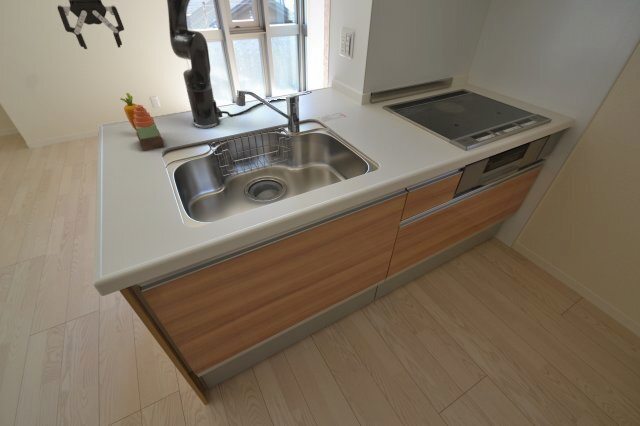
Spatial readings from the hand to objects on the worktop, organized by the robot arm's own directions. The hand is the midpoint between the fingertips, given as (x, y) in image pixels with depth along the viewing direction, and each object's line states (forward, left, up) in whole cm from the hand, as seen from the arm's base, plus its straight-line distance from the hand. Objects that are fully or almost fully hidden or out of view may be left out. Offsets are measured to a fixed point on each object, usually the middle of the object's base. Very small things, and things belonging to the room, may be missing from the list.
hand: (103, 47), depth 88 cm
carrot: (-2, -4, -30) cm, 31 cm away
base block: (-4, +6, -30) cm, 31 cm away
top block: (-4, +6, -26) cm, 27 cm away
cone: (-4, +6, -22) cm, 23 cm away
